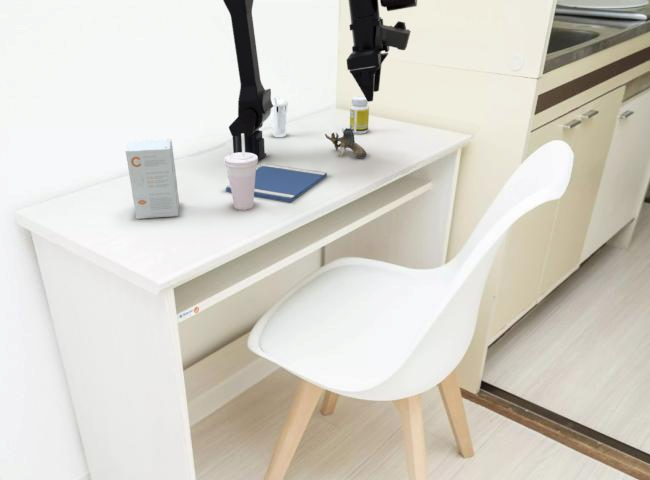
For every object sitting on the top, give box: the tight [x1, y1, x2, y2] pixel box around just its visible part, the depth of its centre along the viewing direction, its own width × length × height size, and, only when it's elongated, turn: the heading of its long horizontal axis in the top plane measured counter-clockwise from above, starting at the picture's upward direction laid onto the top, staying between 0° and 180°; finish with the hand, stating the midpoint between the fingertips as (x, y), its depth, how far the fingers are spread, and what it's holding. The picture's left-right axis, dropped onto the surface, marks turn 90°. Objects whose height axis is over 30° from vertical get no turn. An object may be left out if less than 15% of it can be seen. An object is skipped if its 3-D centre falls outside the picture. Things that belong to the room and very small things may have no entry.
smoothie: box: [223, 133, 259, 211], centre depth 123 cm, size 6×6×14 cm
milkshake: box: [270, 97, 289, 138], centre depth 164 cm, size 4×5×10 cm
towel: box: [225, 163, 328, 204], centre depth 136 cm, size 15×17×1 cm
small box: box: [125, 138, 180, 220], centre depth 121 cm, size 8×6×13 cm
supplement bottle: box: [349, 95, 370, 135], centre depth 166 cm, size 5×5×8 cm
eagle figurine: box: [324, 127, 368, 160], centre depth 151 cm, size 8×7×9 cm
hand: (373, 96), depth 137 cm, fingers open, 9 cm apart
